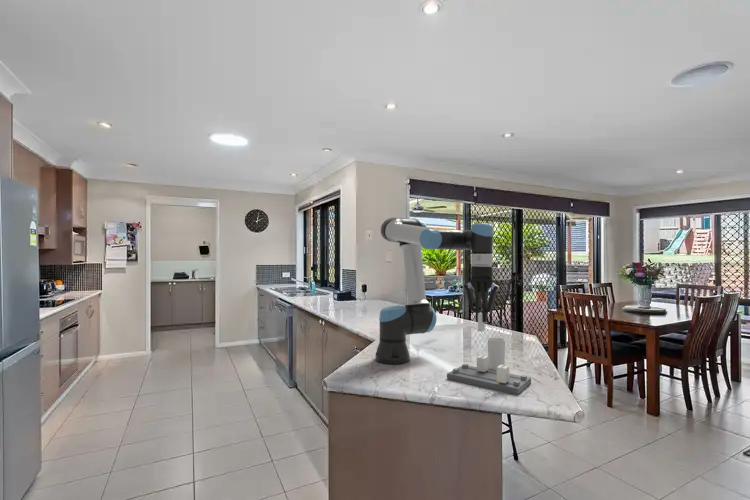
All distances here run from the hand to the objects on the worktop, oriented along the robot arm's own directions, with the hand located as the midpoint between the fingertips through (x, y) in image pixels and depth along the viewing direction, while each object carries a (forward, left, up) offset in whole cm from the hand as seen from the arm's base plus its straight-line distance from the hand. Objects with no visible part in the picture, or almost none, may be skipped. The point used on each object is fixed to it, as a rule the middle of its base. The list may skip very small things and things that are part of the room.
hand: (481, 330), depth 136 cm
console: (+1, +4, -19) cm, 19 cm away
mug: (-3, +23, -19) cm, 30 cm away
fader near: (+8, 0, -17) cm, 19 cm away
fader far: (-3, +8, -17) cm, 19 cm away
